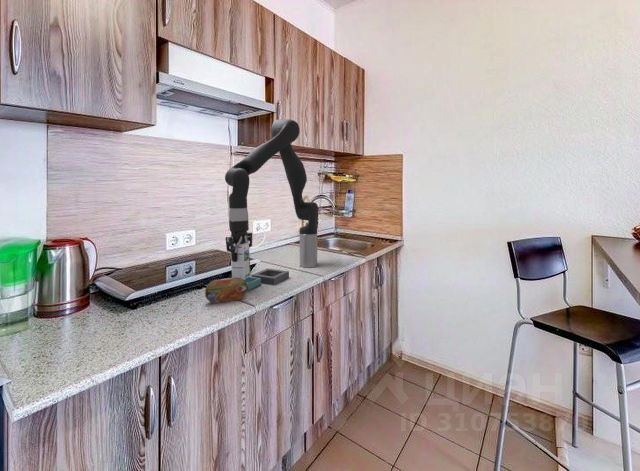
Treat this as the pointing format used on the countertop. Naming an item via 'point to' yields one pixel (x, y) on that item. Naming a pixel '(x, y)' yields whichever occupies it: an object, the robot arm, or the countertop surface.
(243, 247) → the syrup box
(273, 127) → the robot arm
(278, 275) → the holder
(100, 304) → the countertop surface
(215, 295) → the tin
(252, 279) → the parts tray
